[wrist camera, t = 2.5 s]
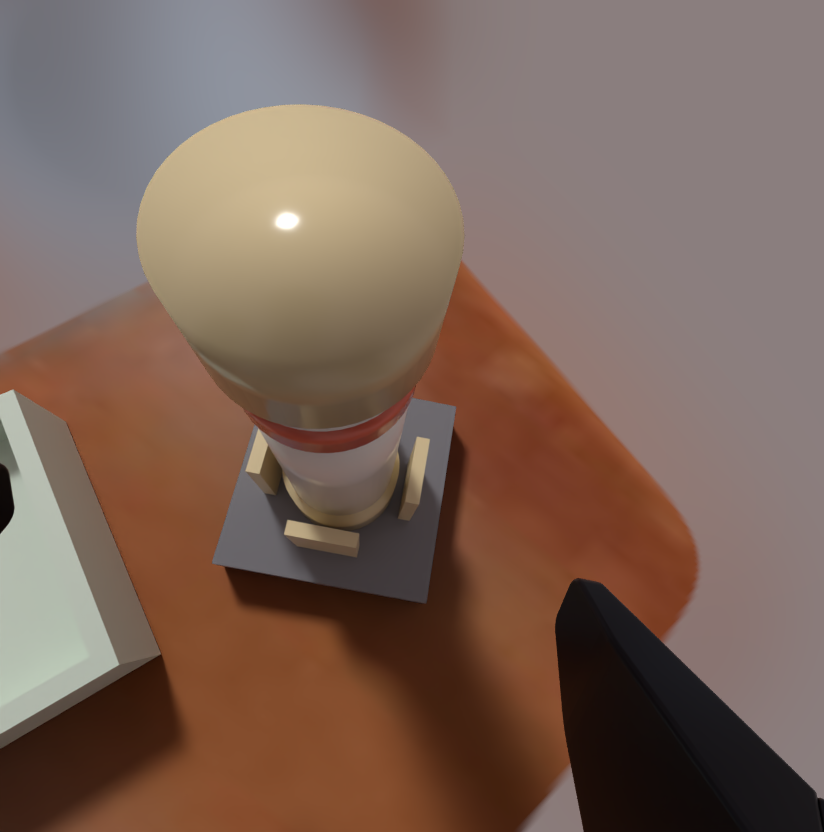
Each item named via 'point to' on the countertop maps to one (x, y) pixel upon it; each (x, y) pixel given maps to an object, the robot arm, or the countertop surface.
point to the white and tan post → (309, 286)
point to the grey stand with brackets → (337, 549)
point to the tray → (58, 579)
